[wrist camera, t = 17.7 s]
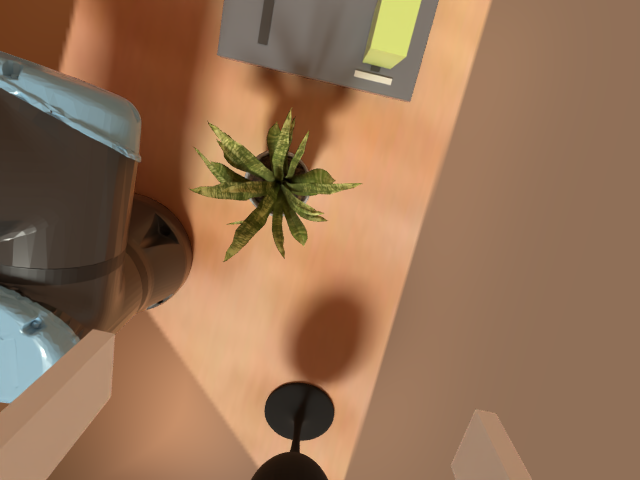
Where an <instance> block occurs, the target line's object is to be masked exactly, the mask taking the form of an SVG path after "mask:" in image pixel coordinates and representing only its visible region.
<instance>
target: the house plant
mask: <svg viewBox="0 0 640 480" xmlns="http://www.w3.org/2000/svg"><path fill="white" fill-rule="evenodd" d="M291 109H292V108H291ZM291 120H292V118H291V110H290V111H289V113H288V116H287V118H286V120H285V122H284V125H283V127H282V130H281V131H280V129H279V126H278V124H277V122H276V123H275V124H274V125H273V126H272V127H271V128H270V129H269V132H268V135H267V145H268V150H269V151H266V152H264V153H261V154H259V155H258V156H257V157H255V156H254V155H253V154H252V153H251V152H250V151H249V150H247V149H246V148H245V147H244V146H243V145H241V144H239V143H237V142H236V141H234V140H233V139H232V138H231V137H230V136H229V135H227V134H226V133H225V132H224V133H225V134H224V133H223V132H222V131H221V130H220V129H219V128H218V127H216V126H214V125H212V124H210V123H209V122H208V124H209V126H210V127H211V128H212V130H213V131H214V133H215V134H216V136H217V137H218V138H219V139H220V140H221V141H222V142H220V141H218V140H217V142H218V143H219V145H220V147H221V149H222V150H223V152H224V158H225V159H226V160H227V162H228V163H229V164H230V165H232V166H233V167H235V168H237V169H239V170H242V171H245V172H246V174H245V177H243V176H241V175H239V174H237V173H235V172H234V171H232V170H231V169H229V168H228V167H226V166H225V165H223V164H221V163H215V162H211V163H210V162H209V161H208V160H207V159H206V158H205V157H204V156H203V155H202V154H201V153H200V152H199V151H198V150H197V149H196V148H195V147H194V148H195V150H196V151H197V153H198V154H199V155H200V157H201V158H202V159H203V160H204V162H205V163H206V165H207V166H208V168H209V169H210V171H211V172H212V173H213V175H214V176H215V177H216V178H217V180H218V181H219V182H220V183H221V184H218V185H216V186H213V187H198V188H195V189H190V190H191V191H193V192H195V193H198V194H201V195H204V196H207V197H212V198H218V199H233V200H248V199H250V201H251V202H252V203H253V205H254V206H255V207H256V209H255V210H254V211H253V212H252V213H251V214H250V215H249V216H248V217H247V218H246V219H245V220H244V221H238V222H233V223H230V224H241V225H240V226H239V227H238V228H237V229H236V232H235V235H234V239H233V242H232V244H231V245H230V247H229V249H228V250H227V252H226V256H225V260H224V261H223V262H225V261H227V260H228V259H230V258H231V257H232V256H233V255H235V254H236V253H238V251H239V250H240V249H241V248H242V247H244V246H245V245H246V244H247V243H248V241H249V240H250V239H251V238H252V237H253V236H254V235H255V234H256V233H257V232H258V231H259V230H260V229H261V228H262V227H263V226H264V225H265V223H266V221H267V218H268V216H269V215H271V216H273V218H272V233H273V238H274V241H275V244H276V246H277V248H278V250H279V252H280V253H281V255H282V256H283V257H284V255H285V251H284V248H283V242H284V237H283V231H282V218H283V216H285V217H286V220H287V223H288V226H289V229H290V231H291V234H292V236H293V237H294V238H295V239H296V240H297V241H298V242H299V243H301V244H302V245H303V246H304V245H305V243H306V240H307V231H306V229H305V227H304V225H303V223H302V222H301V220H300V219H299V217H298V216H297V214H299V215H300V216H301V217H303V218H305V219H307V220H311V221H317V222H320V221H329V220H326V219H324V218H323V217H321V216H318V215H320V214H324V213H322V212H319V211H316V210H315V209H313V208H312V207H310V206H308V205H307V204H305V203H306V202H307V200H308V198H309V196H313V195H317V194H332V193H336V192H339V191H342V190H347V189H351V188H354V187H356V186H358V185H360V184H361V183H345V184H333V182H334V181H336V180H334V179H333V178H332V177H331V176H330V174H329V173H328V172H327V171H325V170H323V169H313V170H311V171H309V170H308V168H307V166H306V165H305V164H304V162H303V161H302V160H301V157H302V156H303V154H304V150H305V146H306V142H307V140H308V137H309V131H308V132H307V134H306V136H305V137H304V139H303V140H302V142H301V144H300V146H299V148H298V149H297V151H296V154H295V155H294V154H293V153H290V152H288V151H289V147H290V144H291V141H292V135H293V129H294V126H295V118H294V119H293V121H292V122H291ZM314 210H315V211H314ZM296 213H297V214H296ZM227 225H228V224H227ZM284 259H285V258H284Z"/></svg>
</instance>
